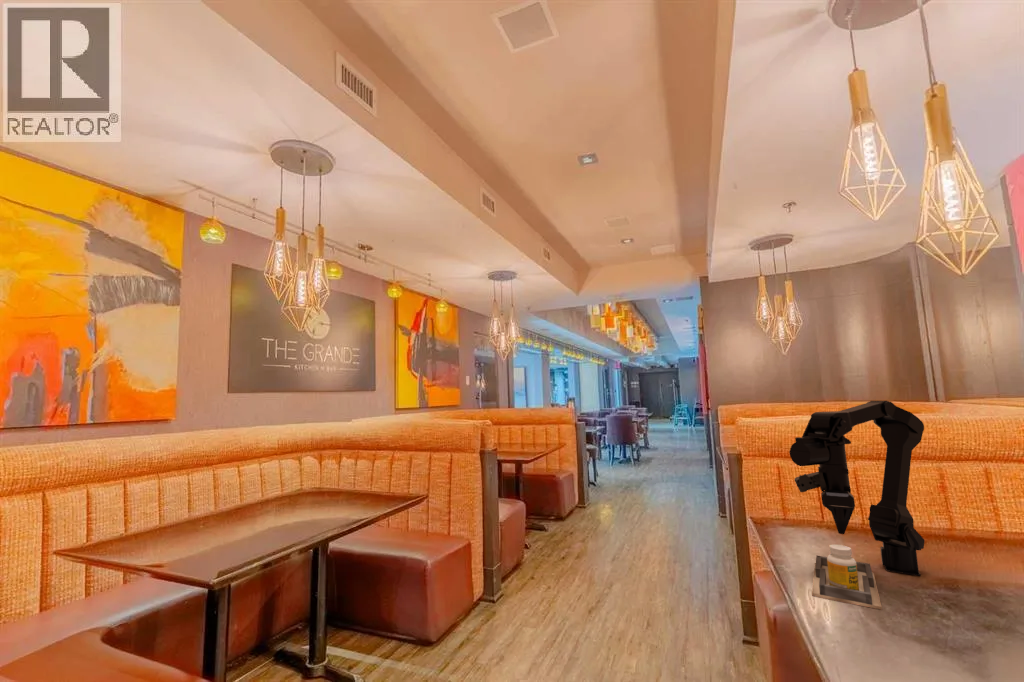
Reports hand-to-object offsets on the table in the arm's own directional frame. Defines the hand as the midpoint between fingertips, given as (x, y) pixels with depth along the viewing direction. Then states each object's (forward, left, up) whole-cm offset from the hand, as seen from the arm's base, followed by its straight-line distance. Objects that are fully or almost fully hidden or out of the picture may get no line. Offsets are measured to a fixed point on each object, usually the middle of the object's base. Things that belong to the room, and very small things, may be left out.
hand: (840, 528), depth 110 cm
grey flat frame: (0, +5, -12) cm, 12 cm away
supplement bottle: (0, +12, -11) cm, 16 cm away
